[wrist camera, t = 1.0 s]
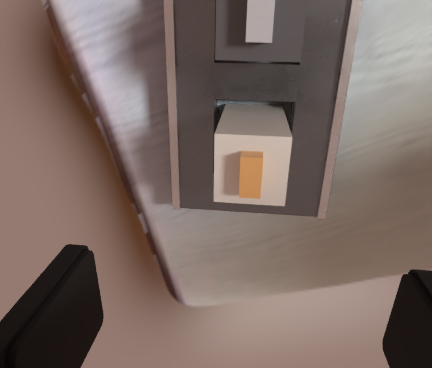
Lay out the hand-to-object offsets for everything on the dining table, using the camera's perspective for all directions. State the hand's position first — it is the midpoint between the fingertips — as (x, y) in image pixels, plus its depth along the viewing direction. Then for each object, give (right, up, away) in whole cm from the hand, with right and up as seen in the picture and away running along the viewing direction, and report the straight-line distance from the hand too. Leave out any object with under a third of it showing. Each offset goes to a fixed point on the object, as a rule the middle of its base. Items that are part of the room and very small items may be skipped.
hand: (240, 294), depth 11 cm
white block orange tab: (+2, +7, +16) cm, 18 cm away
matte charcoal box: (+2, +15, +13) cm, 20 cm away
